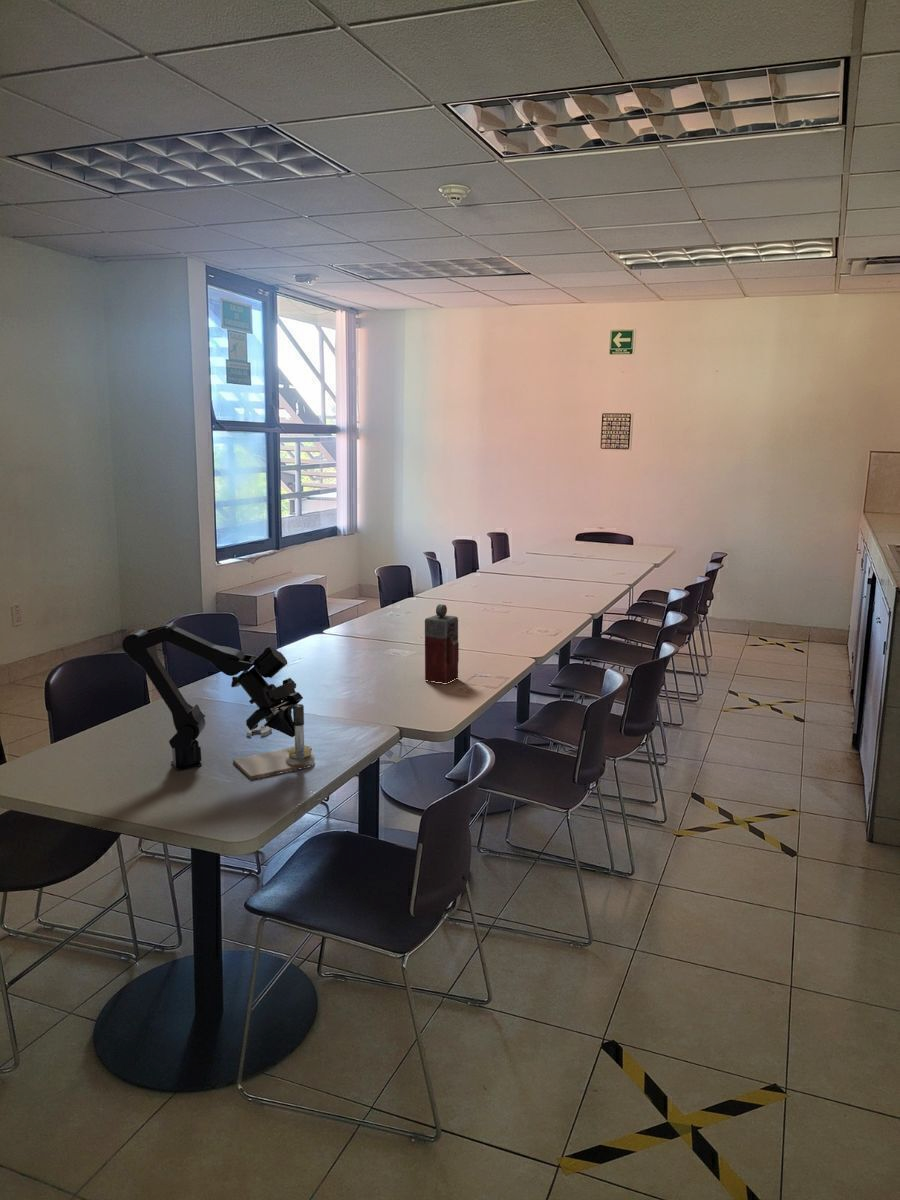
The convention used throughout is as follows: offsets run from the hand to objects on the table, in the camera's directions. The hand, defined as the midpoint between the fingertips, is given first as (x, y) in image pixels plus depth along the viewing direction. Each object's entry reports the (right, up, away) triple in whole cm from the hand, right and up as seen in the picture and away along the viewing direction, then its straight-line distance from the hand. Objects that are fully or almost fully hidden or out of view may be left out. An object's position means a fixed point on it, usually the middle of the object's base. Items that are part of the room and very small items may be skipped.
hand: (294, 735), depth 221 cm
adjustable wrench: (-14, -3, +39) cm, 42 cm away
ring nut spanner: (0, -7, +5) cm, 8 cm away
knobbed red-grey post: (+38, +6, +87) cm, 95 cm away
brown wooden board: (-6, -9, +7) cm, 13 cm away
